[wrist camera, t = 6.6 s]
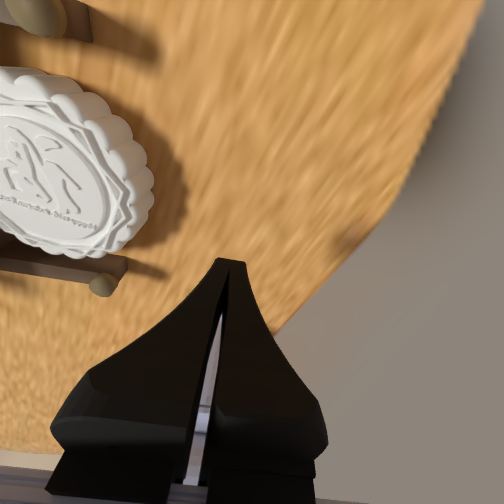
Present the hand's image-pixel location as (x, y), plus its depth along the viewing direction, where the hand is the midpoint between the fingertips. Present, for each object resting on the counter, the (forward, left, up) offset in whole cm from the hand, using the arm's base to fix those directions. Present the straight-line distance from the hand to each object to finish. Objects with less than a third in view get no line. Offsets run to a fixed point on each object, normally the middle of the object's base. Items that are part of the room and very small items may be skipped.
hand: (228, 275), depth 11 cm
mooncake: (0, +12, -9) cm, 15 cm away
